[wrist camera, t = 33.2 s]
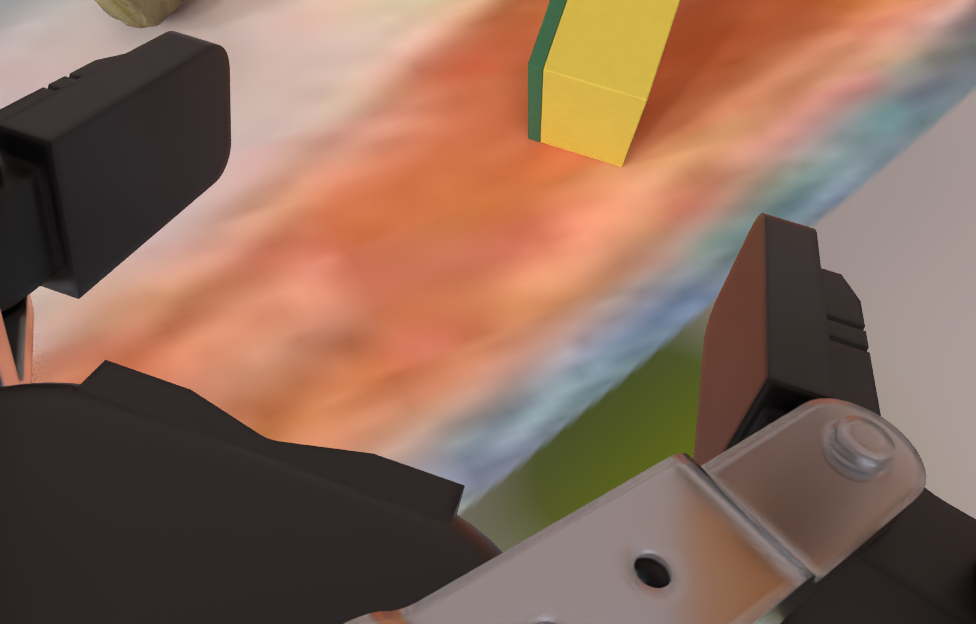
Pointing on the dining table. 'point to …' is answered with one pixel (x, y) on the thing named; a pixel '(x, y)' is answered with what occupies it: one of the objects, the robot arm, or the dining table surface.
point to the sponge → (595, 73)
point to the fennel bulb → (139, 11)
